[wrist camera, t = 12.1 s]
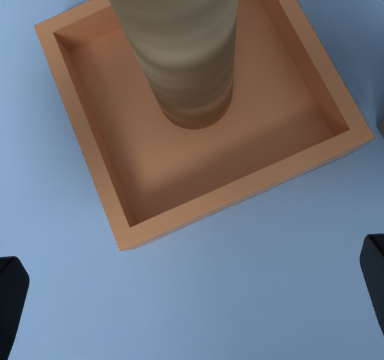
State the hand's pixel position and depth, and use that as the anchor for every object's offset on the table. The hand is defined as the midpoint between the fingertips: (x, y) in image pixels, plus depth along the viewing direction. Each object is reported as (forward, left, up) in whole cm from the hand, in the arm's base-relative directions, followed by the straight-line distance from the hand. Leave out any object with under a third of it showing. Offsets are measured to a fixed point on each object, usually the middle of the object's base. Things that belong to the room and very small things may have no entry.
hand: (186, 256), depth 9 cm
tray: (+8, -3, -9) cm, 12 cm away
